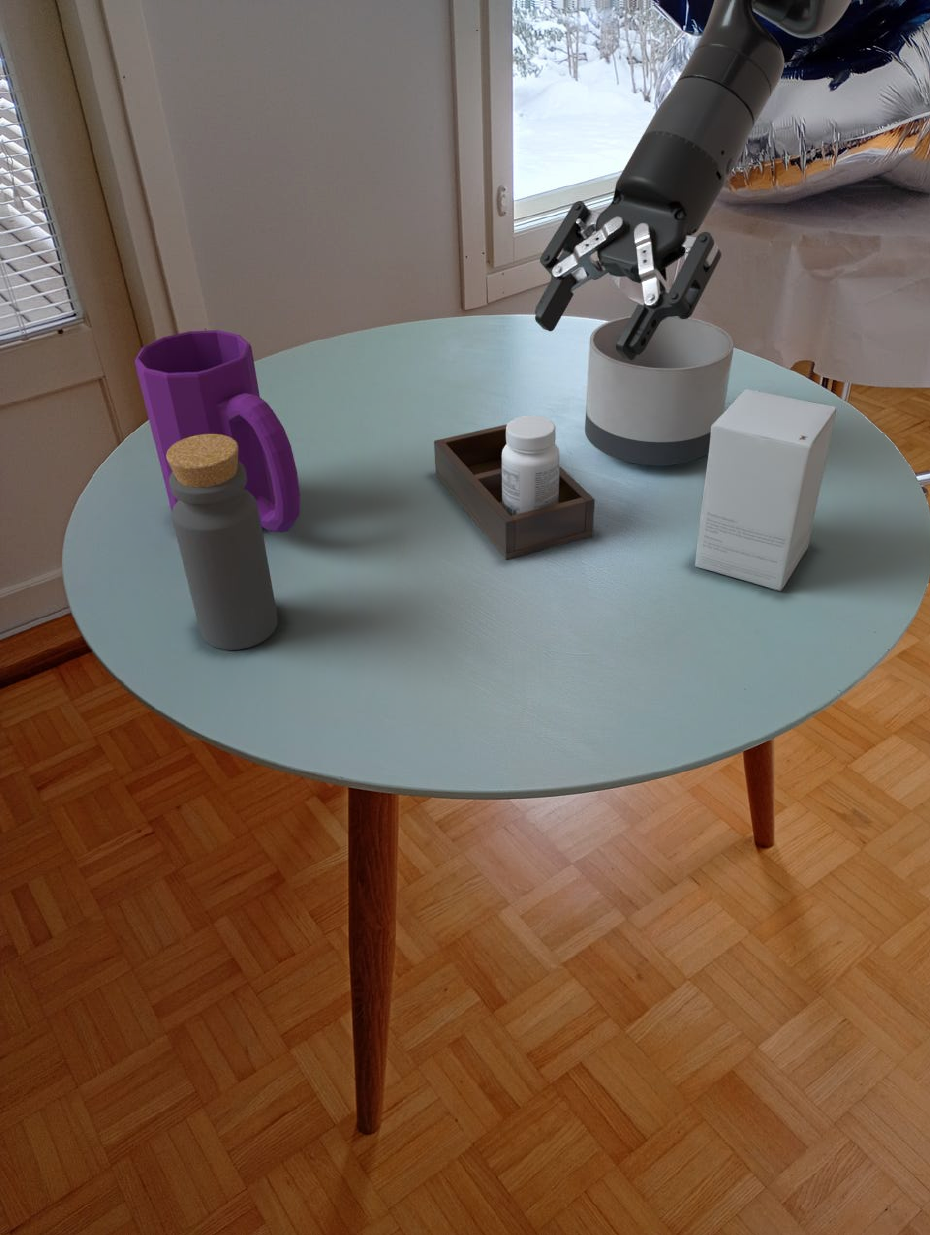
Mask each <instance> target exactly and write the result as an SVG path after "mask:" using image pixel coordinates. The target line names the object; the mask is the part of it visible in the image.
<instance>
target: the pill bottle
mask: <svg viewBox="0 0 930 1235" xmlns="http://www.w3.org/2000/svg"><path fill="white" fill-rule="evenodd" d="M506 425H507V426H506V443H507V444H506V445H505V447H504V448H503V451H502V507H503V508H504V509H505V510H506V511H507V512H508V513H509V515H510V516H512V515H516V514H520V513H524V512H527V511H531V510H535V509H539V508H543V507H547V506H551V505H555V504H558V499H559V466H560V459H561V458H560V457H561V456H560V449H559V447H558V446H557V444H556V440H557V434H556V424H555V423H554V421H553V420H551V419H548V418H547V417H543V416H540V415H522V416H518V417H515V418H513V419H511V420H510V421H509V422H507V423H506Z"/></svg>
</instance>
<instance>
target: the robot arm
mask: <svg viewBox="0 0 930 1235" xmlns="http://www.w3.org/2000/svg"><path fill="white" fill-rule="evenodd" d="M851 2H852V0H714V1H713V4H712V7H711V10H710V14H709V16H708V20H707V22H706V25H705V27H704V30H703V32H702V34H701V37H700V39H699V41H698V42H697V44H696V46H695V48H694V49H693V52H692V54H691V55H690V57H689V59H688V61H687V62H686V64H685V66H684V67H683V70H682V71H681V73H680V74H679V76H678V78H677V80H676V82H675V84H674V86H673V87H672V89H671V90H670V92H669V93H668V94H667V96H666V97H665V98H664V99H663V101H662V102H661V104H660V105H659V106H658V108H657V109H656V111H655V113H654V115H653V116H652V119H651V120H650V122H649V124H648V126H647V127H646V129H645V131H644V133H643V134H642V136H641V137H640V140H639V141H638V143H637V145H636V146H635V149H634V150H633V152H632V154H631V156H630V157H629V159H628V161H627V163H626V165H625V166H624V168H623V169H622V171H621V174H620V176H619V177H618V179H617V181H616V183H615V188H614V195H613V198H612V200H611V203H610V204H609V205H608V206H607V207H606V208H605V209H603V211H602V212H597V211H594V210H592V209H589V208H588V206H587V205H586V203H585V202H584V201H582V200H577V201H576V202H574V203H573V204H572V206H571V207H570V209H569V210H568V212H567V214H566V215H565V217H564V219H563V220H562V221H561V223H560V225H559V227H558V228H557V230H556V231H555V233H554V234H553V236H552V238H551V239H550V241H549V243H548V245H547V246H546V247H545V249H544V251H543V252H542V254H541V256H540V258H539V263H540V264H541V265H542V267H543V268H544V269H545V270H546V271H547V272H548V273H549V274H550V280H549V283H548V285H547V286H546V288H545V290H544V292H543V294H542V296H541V297H540V299H539V301H538V303H537V305H536V306H535V311H534V314H535V316H534V320H535V322H536V323H537V325H539V326H540V327H541V329H542V330H545V331H548V332H553V331H555V329H556V327H557V325H558V324H559V322H560V320H561V318H562V316H563V315H564V313H565V311H566V309H567V307H568V305H569V304H570V302H571V300H572V299H573V297H574V293H573V291H576V289H578V288H580V287H581V286H583V285H584V284H586V283H587V282H588V281H591V280H593V281H596V280H599V279H601V278H603V277H604V276H606V275H607V274H609V275H610V276H613V277H617V278H622V277H623V278H625V277H626V278H628V279H629V280H630V281H632V282H634V283H636V284H641V286H642V288H641V289H642V294H643V295H642V297H643V305H642V304H637V305H636V307H635V309H634V311H633V313H632V315H630V316H631V318H630V320H629V321H628V323H627V325H626V327H625V328H624V330H623V332H622V334H621V336H620V337H619V339H618V341H617V343H616V350H617V351H618V352H619V353H620V355H621V356H622V357H623V358H626V359H628V360H633V359H634V358H635V357H636V355H640V354H641V353H642V352H643V351H644V350H645V348H646V346H647V345H648V343H649V341H650V339H651V338H652V336H653V334H654V332H655V331H656V329H657V327H658V325H659V324H660V322H661V321H662V320H665V319H666V318H667V317H674V316H678V317H679V318H680V319H687V318H691V316H692V315H693V313H694V311H695V309H696V307H697V305H698V304H699V301H700V300H701V297H702V296H703V293H704V291H705V290H706V288H707V285H708V284H709V282H710V280H711V277H712V275H713V273H714V271H715V270H716V267H717V266H718V264H719V262H720V260H721V258H722V252H721V250H720V248H719V246H718V244H717V242H716V241H715V238H713V236H712V234H711V233H710V232H709V231H703V232H700V233H699V234H697V236H696V235H695V234H696V233H697V232H698V231H699V229H700V228H701V226H702V225H703V222H704V221H705V219H706V217H707V215H708V214H709V212H710V210H711V208H712V207H713V205H714V203H715V202H716V200H717V198H718V196H719V194H720V193H721V190H722V189H723V187H724V186H725V184H726V182H727V180H728V178H729V177H730V175H731V173H732V171H733V170H734V168H735V166H736V164H737V163H738V160H739V159H740V157H741V155H742V153H743V150H744V148H745V145H746V143H747V140H748V138H749V136H750V134H751V131H752V130H753V128H754V126H755V124H756V123H757V121H758V119H759V117H760V115H761V114H762V112H763V110H764V108H765V107H766V105H767V103H768V101H769V100H770V98H771V96H772V94H773V92H774V91H775V89H776V87H777V86H778V83H779V82H780V79H781V77H782V75H783V73H784V67H785V57H784V53H783V50H782V48H781V46H780V45H779V43H778V41H777V40H776V39H775V37H774V36H773V35H772V34H771V33H770V32H769V30H768V29H767V28H766V27H765V26H764V25H763V23H762V22H761V21H760V20H759V19H758V17H757V15H758V16H760V17H761V18H763V19H765V20H767V21H768V22H770V23H771V24H773V25H774V26H776V27H778V28H779V29H781V30H782V31H783V32H786V33H787V34H788V35H791V36H792V37H796V38H799V39H812V38H816V37H819V36H821V35H823V34H825V33H826V32H829V30H831V29H832V28H833V27H834V26H835V25H836V24H837V23H838V22H839V21H840V20H841V18H842V17H843V16H844V14H845V12H846V11H847V9H848V8H849V5H850V4H851ZM756 14H757V15H756ZM595 253H596V255H597V259H598V260H594V259H593V258H592V257H591V256H592V255H593V254H595ZM681 258H683V259H684V261H683V263H682V265H681V268H680V269H679V271H678V273H677V275H676V277H675V279H674V281H673V283H672V285H671V287H670V278H669V268H668V267H669V266H671V265H673V264H674V263H675V262H676V261H678V260H680V259H681Z"/></svg>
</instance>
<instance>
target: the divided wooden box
mask: <svg viewBox="0 0 930 1235" xmlns="http://www.w3.org/2000/svg"><path fill="white" fill-rule="evenodd" d="M506 426H507V424H502V425H498V426H493V427H489V428H484V429H480V430H475V431H473V432H467V433H462V434H458V435H453V436H449V437H445V438H440V439H435V440H433V451H434V452H433V453H434V466H435V467H434V469H435V476H436V478H437V479H438V480H439V481H440V483H442V485H443V486H444V487H445V488H446V490H447V491H448V492H449V493H450V494H451V495H452V496H453V498H454V499H455V500H456V502H458V504H459V505H460V507H461V508H462V509H463V510H464V511H465V512H466V513H467V515H468V516H469V517H470V518H471V519H472V521H473V522H474V523H475V524H476V525H477V527H478V528H479V529H480V530H481V532H482V533H483V534H484V535H485V536H486V537H487V539H488V540H489V541H490V543H491V544H492V545H493V546H494V547H495V548H496V549H497V550H498V552H499V553H500V555H502V557H503V558H504V559H505V560H510V559H513V558H517V557H520V556H524V555H528V554H531V553H535V552H538V551H542V550H547V549H550V548H553V547H557V546H560V545H564V544H569V543H572V542H575V541H578V540H582V539H586V538H591V537H593V536H594V535H593V534H594V518H595V502H596V500H595V498H594V497H593V496H592V495H591V494H590V493H589V492H588V491H587V490H585V488H583V487H582V486H581V484H579V483H578V482H577V481H576V480H575V479H574V477H572V476H571V475H570V474H569V473H568V472H566V471H565V470H564V469H563V467H561V466H560V465H559V499H558V504H555V505H551V506H547V507H543V508H539V509H535V510H531V511H527V512H524V513H520V514H516V515H512V516H510V515H509V513H508V512H507V511H506V510H505V509H504V508H503V507H502V451H503V448H504V447H505V445H506V444H507V443H506Z"/></svg>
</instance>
